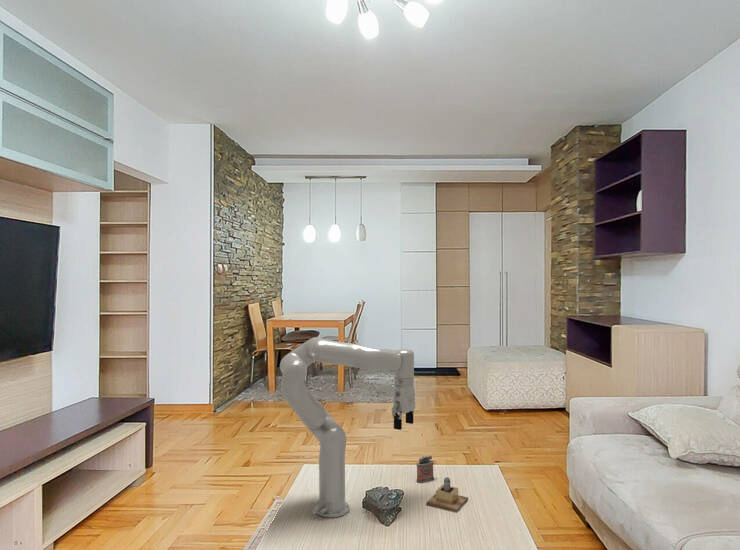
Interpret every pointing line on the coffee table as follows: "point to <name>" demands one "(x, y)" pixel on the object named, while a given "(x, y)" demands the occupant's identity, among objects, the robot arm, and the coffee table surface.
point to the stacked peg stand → (453, 508)
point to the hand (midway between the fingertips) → (403, 426)
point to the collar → (447, 495)
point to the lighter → (425, 469)
